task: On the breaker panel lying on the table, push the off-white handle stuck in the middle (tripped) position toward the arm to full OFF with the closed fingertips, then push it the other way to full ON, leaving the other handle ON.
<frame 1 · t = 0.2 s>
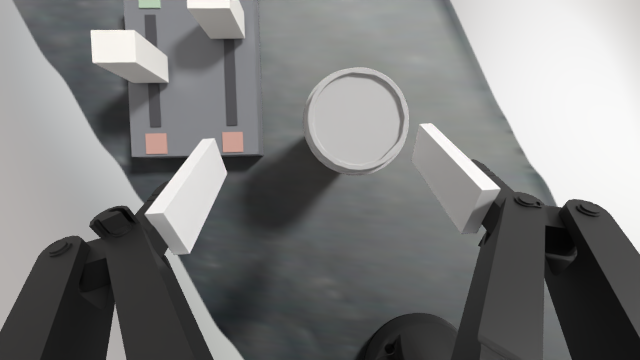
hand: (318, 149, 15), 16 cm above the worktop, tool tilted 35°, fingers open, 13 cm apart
breaker panel: (203, 81, 31), on the worktop
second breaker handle: (218, 10, 24), point 6 cm above the worktop, slide at 5.0 cm
tripped breaker handle: (133, 59, 24), point 6 cm above the worktop, slide at 0.0 cm
disposable coffee cup: (340, 139, 32), on the worktop
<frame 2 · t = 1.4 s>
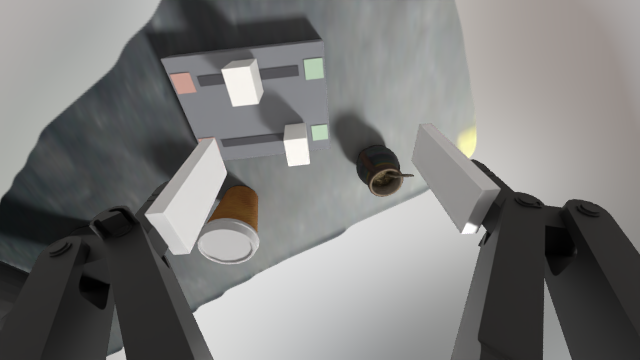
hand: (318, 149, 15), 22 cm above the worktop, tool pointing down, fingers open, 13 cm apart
breaker panel: (260, 103, 35), on the worktop
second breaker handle: (297, 144, 33), point 6 cm above the worktop, slide at 5.0 cm
tripped breaker handle: (244, 81, 28), point 6 cm above the worktop, slide at 0.0 cm
mate gourd: (372, 156, 43), on the worktop
disposable coffee cup: (242, 197, 46), on the worktop
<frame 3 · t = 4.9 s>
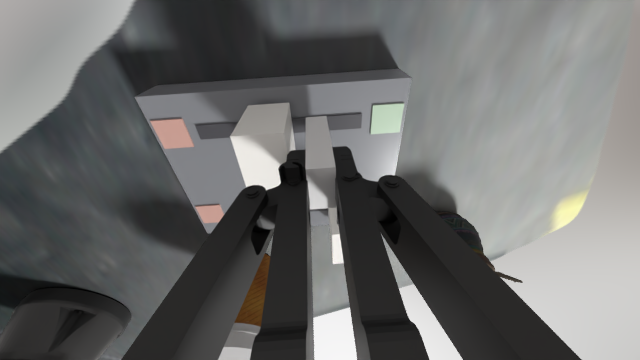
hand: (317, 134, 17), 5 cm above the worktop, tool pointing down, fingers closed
breaker panel: (289, 155, 24), on the worktop
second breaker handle: (346, 226, 22), point 6 cm above the worktop, slide at 5.0 cm
tripped breaker handle: (269, 144, 16), point 6 cm above the worktop, slide at -0.5 cm, touching gripper
mate gourd: (435, 221, 31), on the worktop
disposable coffee cup: (252, 261, 35), on the worktop
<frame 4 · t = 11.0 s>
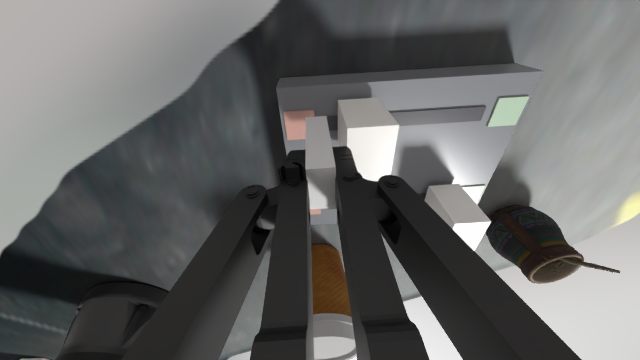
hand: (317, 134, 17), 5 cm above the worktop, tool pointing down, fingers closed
breaker panel: (386, 148, 24), on the worktop
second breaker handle: (450, 217, 22), point 6 cm above the worktop, slide at 5.0 cm
tripped breaker handle: (362, 138, 16), point 6 cm above the worktop, slide at -4.0 cm, touching gripper
mate gourd: (505, 215, 32), on the worktop
disposable coffee cup: (318, 255, 35), on the worktop
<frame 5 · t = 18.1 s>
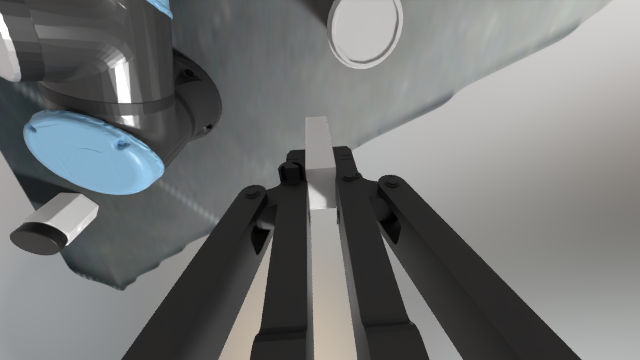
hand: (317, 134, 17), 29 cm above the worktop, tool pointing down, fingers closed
jar: (80, 203, 58), on the worktop
disposable coffee cup: (351, 22, 38), on the worktop
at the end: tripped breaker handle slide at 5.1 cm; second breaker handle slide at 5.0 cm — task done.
